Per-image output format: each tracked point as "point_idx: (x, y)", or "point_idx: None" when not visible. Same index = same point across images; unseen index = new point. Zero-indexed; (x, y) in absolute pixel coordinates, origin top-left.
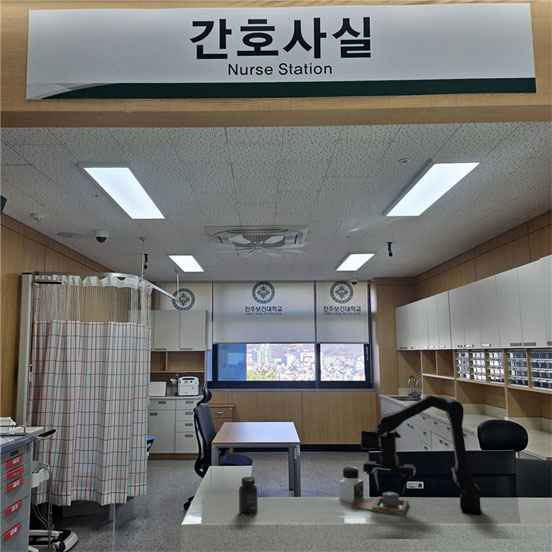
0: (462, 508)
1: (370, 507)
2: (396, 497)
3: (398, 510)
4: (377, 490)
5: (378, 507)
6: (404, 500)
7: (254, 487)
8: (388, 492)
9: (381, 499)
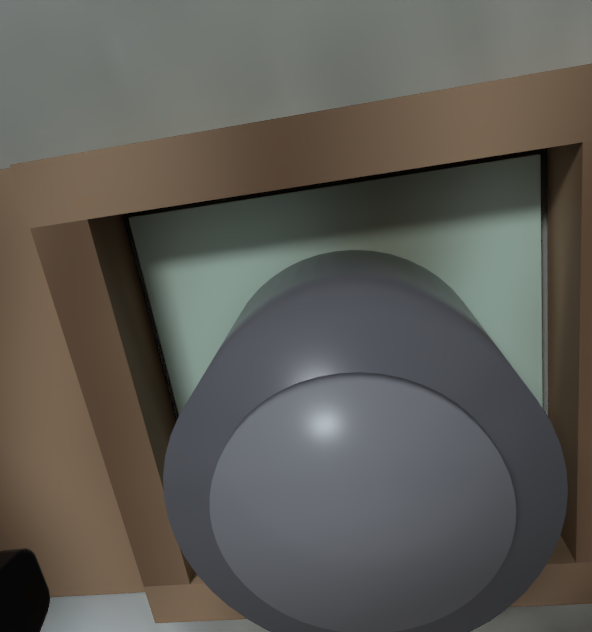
0: None
1: (116, 547)
2: (526, 575)
3: (536, 596)
4: (39, 616)
5: (240, 617)
6: (578, 122)
7: None
8: (280, 448)
9: (112, 214)
